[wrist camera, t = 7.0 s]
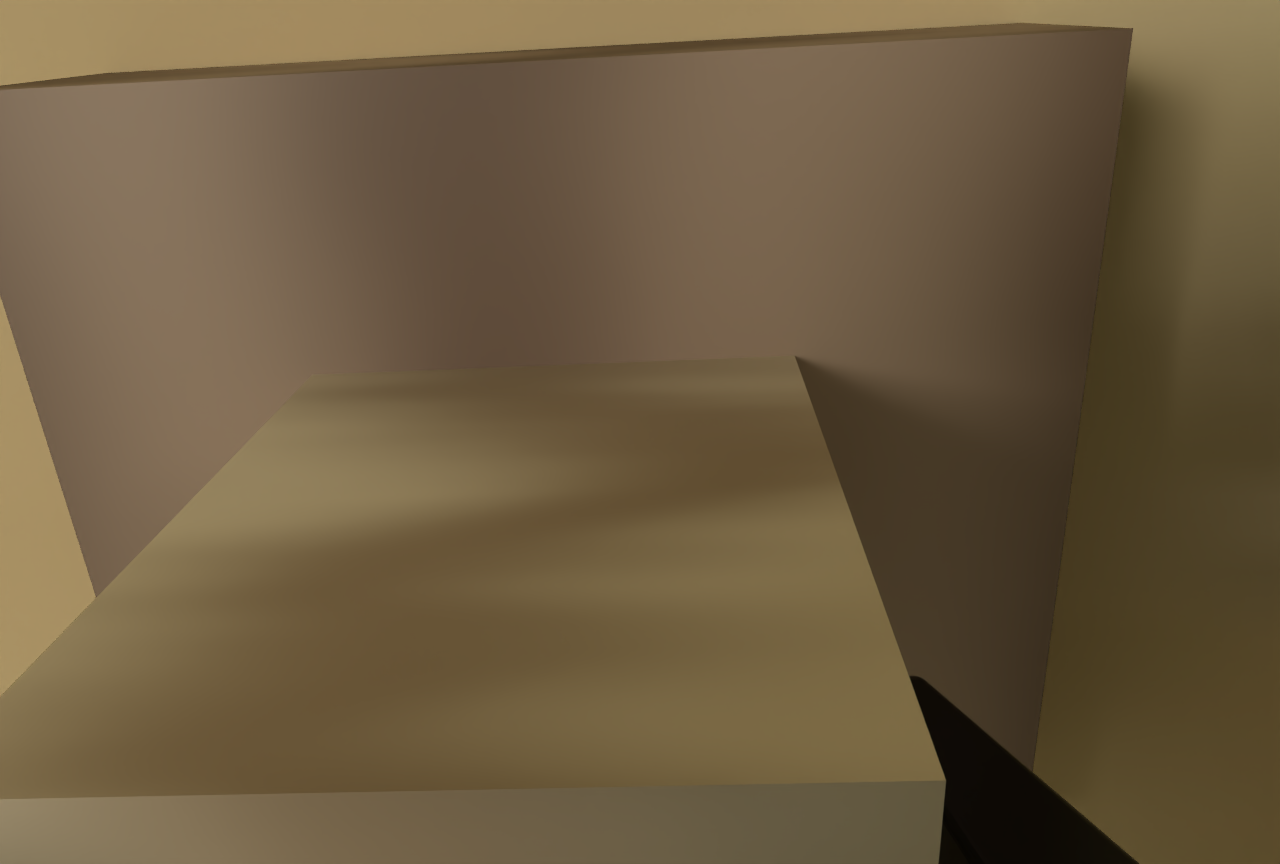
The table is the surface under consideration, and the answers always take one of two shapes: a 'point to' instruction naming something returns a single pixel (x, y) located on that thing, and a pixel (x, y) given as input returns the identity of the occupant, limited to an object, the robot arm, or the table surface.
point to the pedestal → (602, 272)
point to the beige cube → (490, 642)
